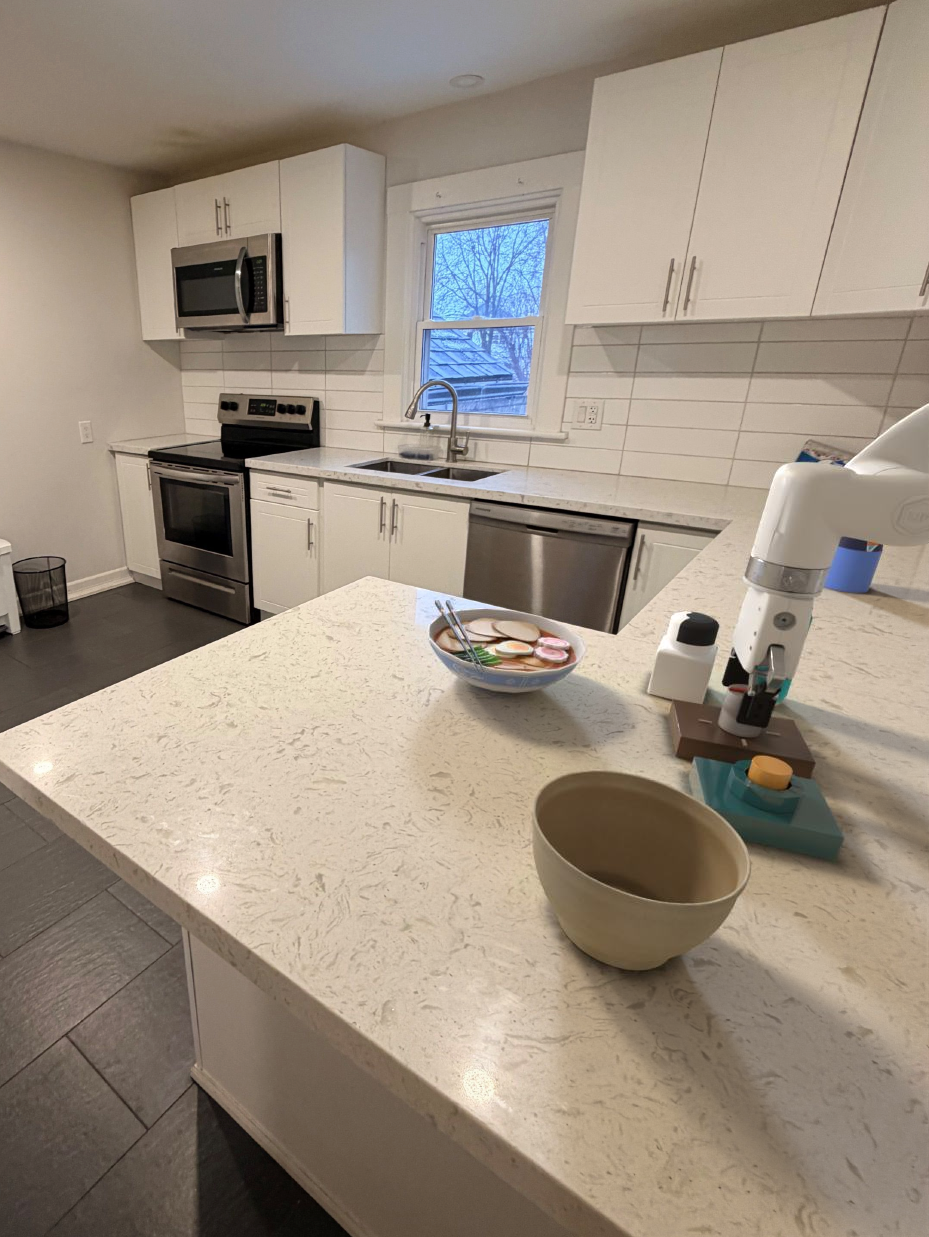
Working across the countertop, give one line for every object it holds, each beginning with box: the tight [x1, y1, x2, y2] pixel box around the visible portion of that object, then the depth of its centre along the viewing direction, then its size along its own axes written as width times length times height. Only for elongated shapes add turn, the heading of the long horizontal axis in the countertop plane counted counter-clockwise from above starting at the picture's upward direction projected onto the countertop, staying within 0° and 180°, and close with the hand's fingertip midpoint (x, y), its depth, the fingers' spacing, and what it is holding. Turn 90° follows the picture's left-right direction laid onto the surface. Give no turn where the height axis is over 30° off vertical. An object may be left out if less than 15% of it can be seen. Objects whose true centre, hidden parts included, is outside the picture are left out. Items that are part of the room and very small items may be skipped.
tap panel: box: [667, 699, 817, 779], centre depth 83 cm, size 14×10×3 cm
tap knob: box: [718, 684, 762, 738], centre depth 82 cm, size 5×5×5 cm
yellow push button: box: [748, 756, 793, 791], centre depth 70 cm, size 4×4×2 cm
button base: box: [687, 756, 845, 862], centre depth 71 cm, size 12×10×5 cm
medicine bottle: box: [647, 611, 720, 704], centre depth 95 cm, size 7×7×12 cm
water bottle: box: [823, 536, 884, 594], centre depth 137 cm, size 9×9×25 cm
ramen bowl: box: [426, 599, 588, 694], centre depth 99 cm, size 25×23×8 cm
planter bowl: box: [531, 769, 752, 971], centre depth 56 cm, size 16×16×11 cm
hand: (742, 705), depth 82 cm, fingers open, 9 cm apart
